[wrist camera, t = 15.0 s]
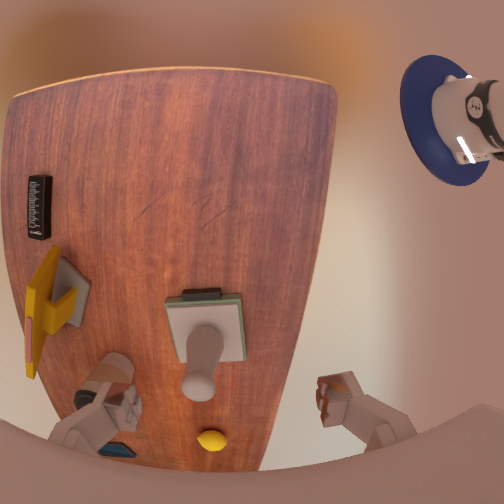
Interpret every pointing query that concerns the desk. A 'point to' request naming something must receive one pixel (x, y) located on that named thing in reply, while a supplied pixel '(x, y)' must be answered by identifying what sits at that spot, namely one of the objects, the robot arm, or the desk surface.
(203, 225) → the desk surface
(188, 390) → the salt shaker
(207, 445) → the lemon
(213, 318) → the scale
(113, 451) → the smartphone
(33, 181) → the multiport hub
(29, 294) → the toy computer monitor
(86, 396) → the coffee cup
